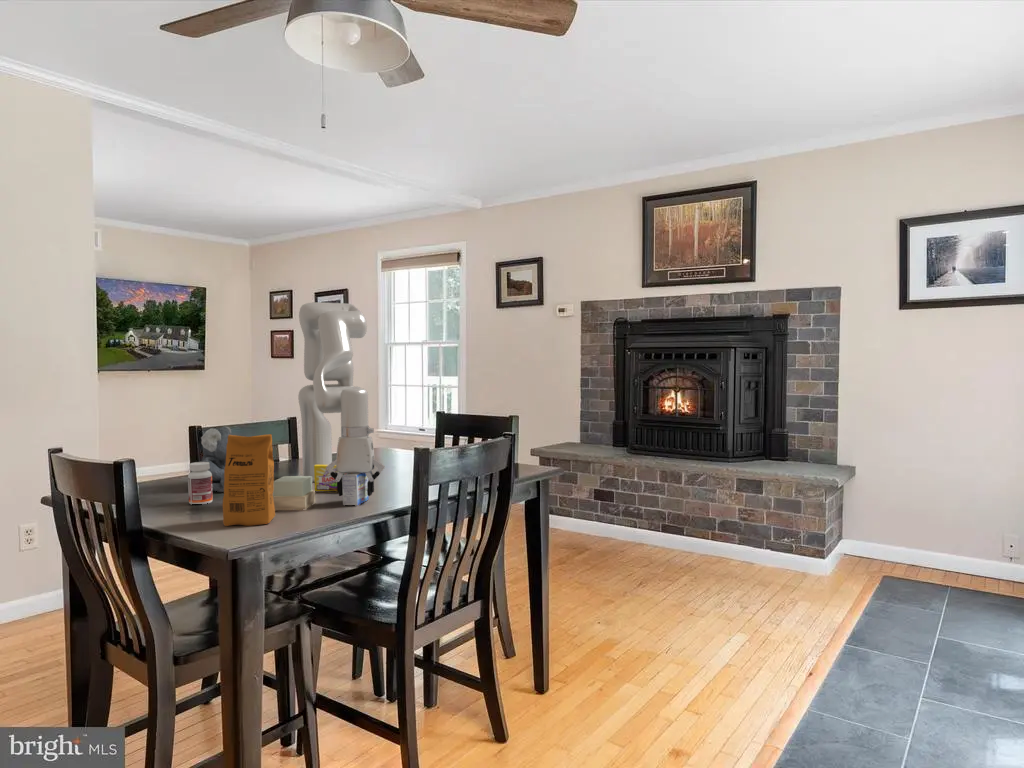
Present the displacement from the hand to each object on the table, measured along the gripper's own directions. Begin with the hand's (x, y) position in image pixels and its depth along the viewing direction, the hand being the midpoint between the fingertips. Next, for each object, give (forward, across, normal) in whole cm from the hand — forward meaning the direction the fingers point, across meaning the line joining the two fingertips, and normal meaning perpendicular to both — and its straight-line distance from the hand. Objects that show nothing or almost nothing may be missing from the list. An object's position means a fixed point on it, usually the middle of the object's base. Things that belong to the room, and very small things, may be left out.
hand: (355, 494), depth 193 cm
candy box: (+3, +8, -16) cm, 18 cm away
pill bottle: (+3, +44, -1) cm, 44 cm away
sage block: (-1, +16, +4) cm, 17 cm away
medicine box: (+3, 0, 0) cm, 3 cm away
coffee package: (+3, +22, +21) cm, 31 cm away
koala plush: (+3, +48, -23) cm, 53 cm away
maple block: (+3, +16, +4) cm, 17 cm away
